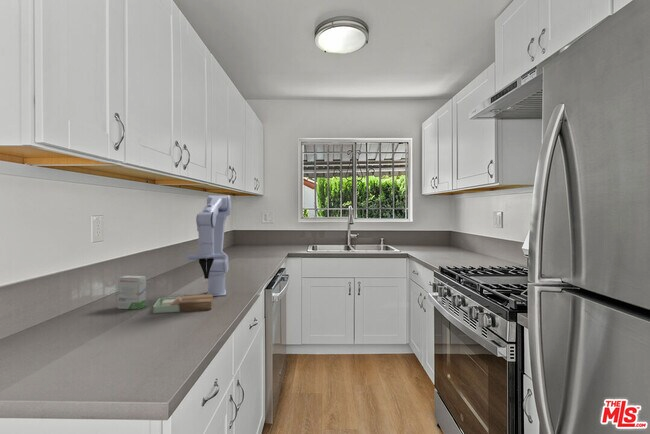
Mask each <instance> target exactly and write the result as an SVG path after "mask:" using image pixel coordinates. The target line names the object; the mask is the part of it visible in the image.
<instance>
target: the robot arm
mask: <svg viewBox="0 0 650 434" xmlns="http://www.w3.org/2000/svg"><path fill="white" fill-rule="evenodd" d="M231 210H232V197H231V196H230V195H229V194H227V195H210V194H209V195H208V196H207V198H206V205H205V207H204V208H203V210H202V212H199V213H197V214H196V216H195V222H196V230H197V233H198V234H197V235H198V253H197V254H186V255H185V257H186V258H185V260H186V261H198V264H199V265H200V267H201V269H202V272H203V277H204V279H205V280H207V290H206V291H207V293H206V294H213V297H221V296H226V295H227V289H226V274H227V272H228V271H229V267H230V264H229V262H230V261H229V255H228V254H227V253H225V251H223V250H224V239H225V228H226V220H227V217H228V216H230V215H231Z"/></svg>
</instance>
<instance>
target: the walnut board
mask: <svg viewBox="0 0 650 434" xmlns="http://www.w3.org/2000/svg"><path fill="white" fill-rule="evenodd" d="M182 297H183V298H182V301H181V302H180V303H179V310H180V312H196V311H197V312H198V311H211V310H212V307H213V302H214V296H213V294H207V293H200V294H196V293H195V294H184V295H183V296H182ZM180 312H179V313H180Z"/></svg>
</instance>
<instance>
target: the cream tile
mask: <svg viewBox="0 0 650 434" xmlns="http://www.w3.org/2000/svg"><path fill="white" fill-rule="evenodd" d="M174 300H175V299H168V300H163V302H162V306H169V304H170V303H171V302H173V301H174Z"/></svg>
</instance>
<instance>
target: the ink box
mask: <svg viewBox="0 0 650 434" xmlns="http://www.w3.org/2000/svg"><path fill="white" fill-rule="evenodd" d="M145 307H147V276H145V275H123V276H120V277H118V278H117V309H118V310H141V309H143V308H145Z"/></svg>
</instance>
